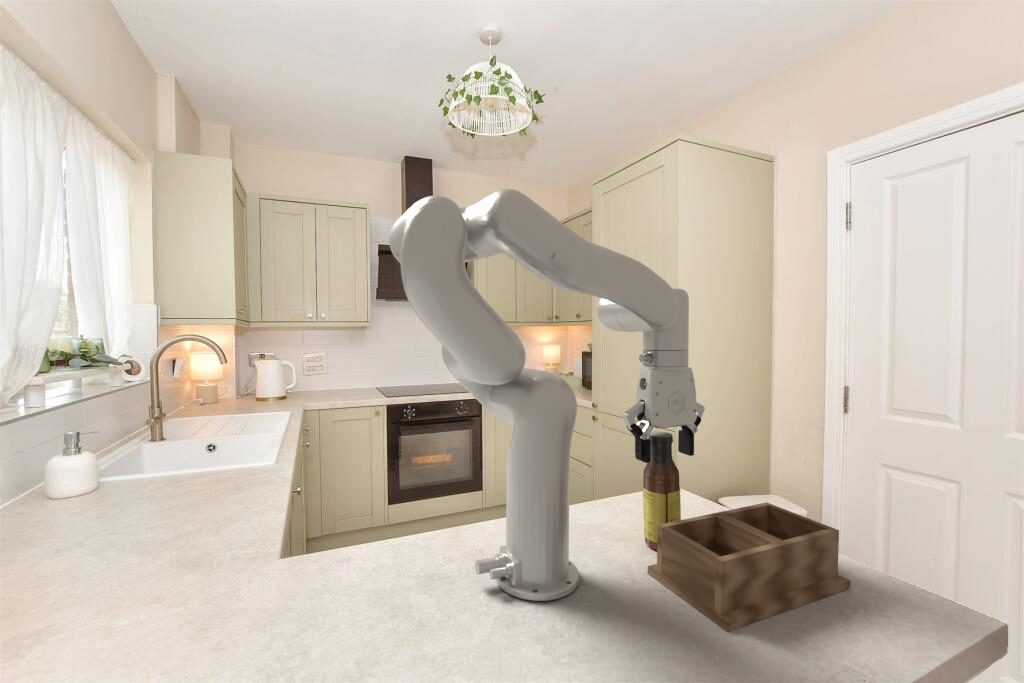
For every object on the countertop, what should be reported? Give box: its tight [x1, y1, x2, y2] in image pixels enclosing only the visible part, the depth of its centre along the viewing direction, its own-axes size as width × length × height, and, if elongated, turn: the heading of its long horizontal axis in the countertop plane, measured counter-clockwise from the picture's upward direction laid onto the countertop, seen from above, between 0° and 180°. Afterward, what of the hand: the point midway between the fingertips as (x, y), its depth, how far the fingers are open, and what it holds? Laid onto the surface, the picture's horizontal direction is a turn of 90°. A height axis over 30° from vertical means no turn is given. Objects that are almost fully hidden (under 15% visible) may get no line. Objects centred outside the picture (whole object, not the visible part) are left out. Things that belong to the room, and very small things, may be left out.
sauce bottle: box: [642, 431, 682, 552], centre depth 81 cm, size 6×6×20 cm
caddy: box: [647, 501, 851, 633], centre depth 70 cm, size 25×15×8 cm, turn 114°
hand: (664, 457), depth 81 cm, fingers open, 9 cm apart
